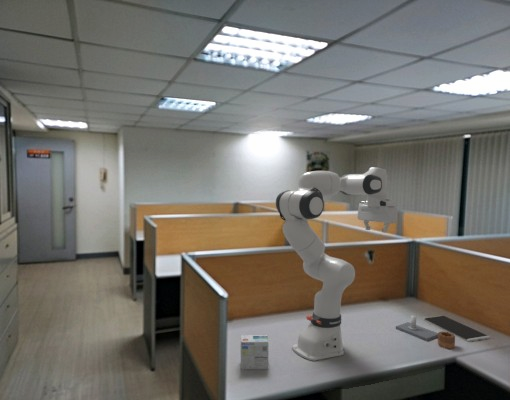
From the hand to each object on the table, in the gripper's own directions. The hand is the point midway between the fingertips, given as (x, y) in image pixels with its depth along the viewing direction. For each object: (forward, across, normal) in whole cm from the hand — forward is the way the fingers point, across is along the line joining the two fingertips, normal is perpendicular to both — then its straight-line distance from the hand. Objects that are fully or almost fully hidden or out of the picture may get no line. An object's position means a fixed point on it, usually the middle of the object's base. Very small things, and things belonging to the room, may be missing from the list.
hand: (376, 231), depth 167 cm
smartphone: (+49, +19, +36) cm, 64 cm away
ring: (+48, +27, +14) cm, 57 cm away
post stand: (+48, +12, +16) cm, 52 cm away
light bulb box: (+48, -3, -66) cm, 82 cm away
